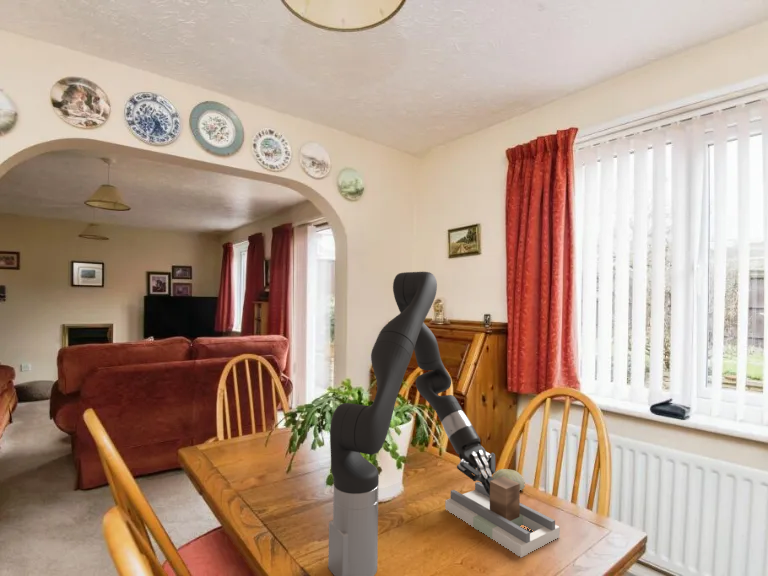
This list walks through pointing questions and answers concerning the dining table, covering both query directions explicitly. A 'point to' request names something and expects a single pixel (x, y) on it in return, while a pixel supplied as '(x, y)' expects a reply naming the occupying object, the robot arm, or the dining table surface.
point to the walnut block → (505, 498)
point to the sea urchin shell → (510, 476)
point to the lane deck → (503, 522)
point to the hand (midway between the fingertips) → (494, 493)
